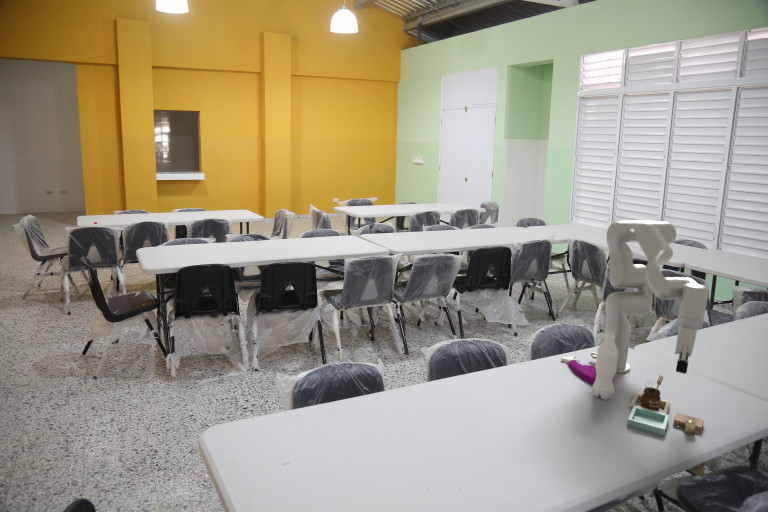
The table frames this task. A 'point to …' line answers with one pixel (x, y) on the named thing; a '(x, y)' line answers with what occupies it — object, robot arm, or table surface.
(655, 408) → the utensil holder
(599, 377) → the water bottle
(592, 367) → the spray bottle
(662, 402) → the wooden square frame
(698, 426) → the board
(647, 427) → the tray
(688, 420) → the cylinder
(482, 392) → the table surface
